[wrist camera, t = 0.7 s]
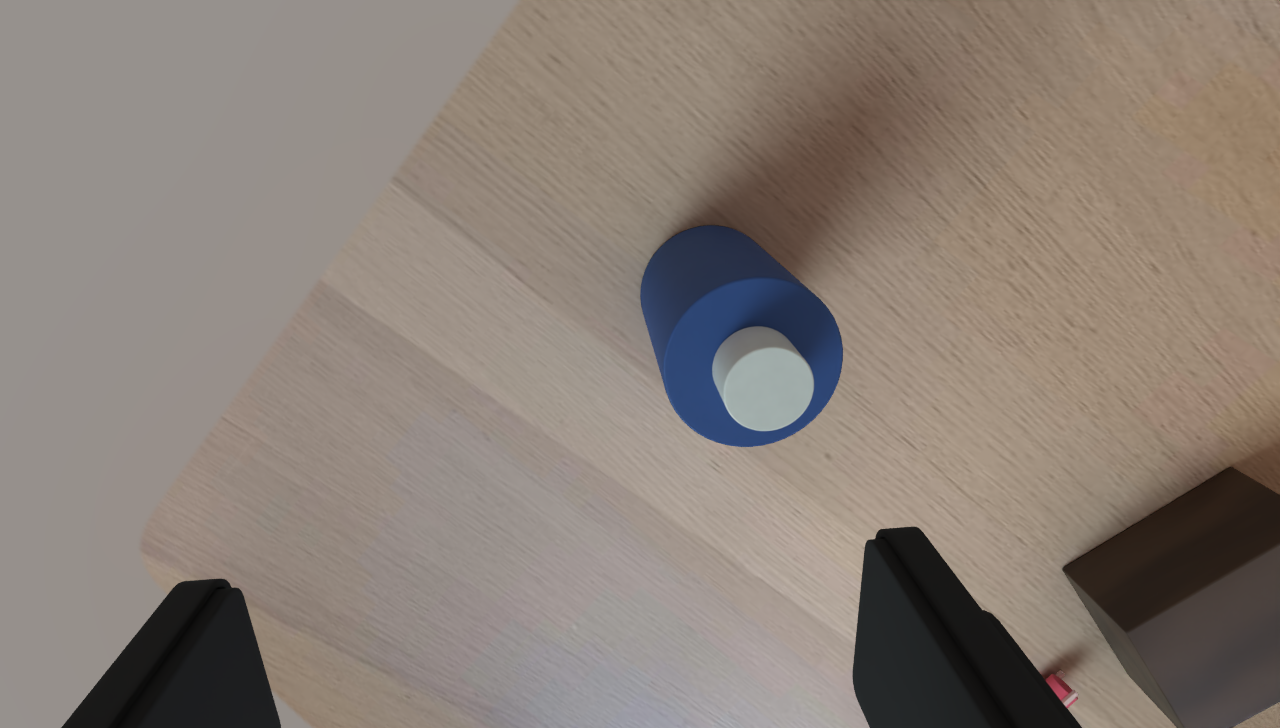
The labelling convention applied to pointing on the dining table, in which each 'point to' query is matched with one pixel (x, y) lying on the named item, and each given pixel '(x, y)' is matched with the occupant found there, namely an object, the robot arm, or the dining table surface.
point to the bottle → (738, 338)
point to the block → (1195, 601)
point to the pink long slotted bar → (1062, 689)
